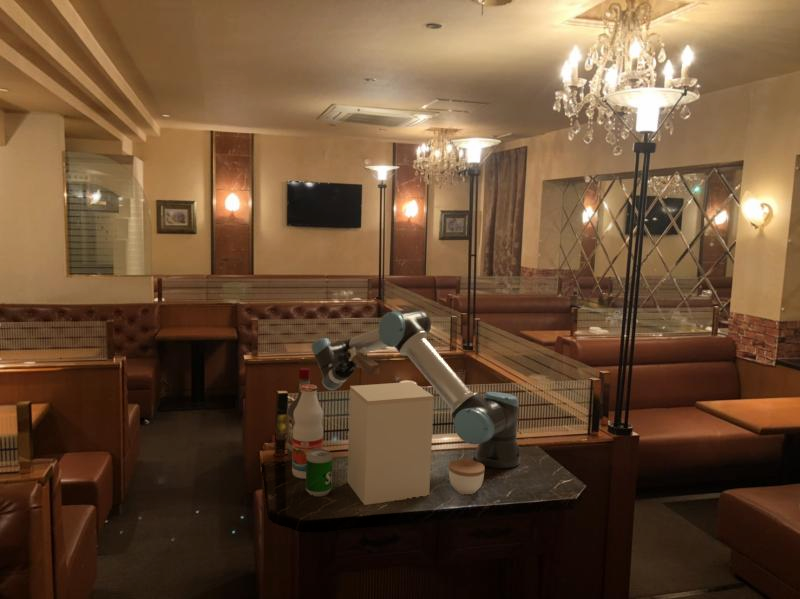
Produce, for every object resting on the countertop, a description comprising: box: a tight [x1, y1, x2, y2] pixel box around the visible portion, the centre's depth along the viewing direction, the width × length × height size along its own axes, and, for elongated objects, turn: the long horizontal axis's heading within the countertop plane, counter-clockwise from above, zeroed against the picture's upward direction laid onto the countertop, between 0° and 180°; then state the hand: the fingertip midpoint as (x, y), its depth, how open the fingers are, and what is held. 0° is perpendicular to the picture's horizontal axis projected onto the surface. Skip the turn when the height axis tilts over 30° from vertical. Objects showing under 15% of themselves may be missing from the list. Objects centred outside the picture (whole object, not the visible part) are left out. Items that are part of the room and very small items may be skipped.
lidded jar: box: [448, 458, 486, 495], centre depth 185 cm, size 11×11×9 cm
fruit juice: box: [291, 383, 324, 480], centre depth 192 cm, size 9×9×28 cm
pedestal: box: [346, 381, 435, 506], centre depth 182 cm, size 20×16×30 cm
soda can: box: [305, 448, 334, 497], centre depth 180 cm, size 8×8×12 cm
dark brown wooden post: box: [348, 349, 381, 376], centre depth 204 cm, size 3×24×3 cm, turn 22°
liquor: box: [286, 367, 311, 460], centre depth 205 cm, size 9×9×30 cm
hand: (359, 351), depth 207 cm, fingers closed on dark brown wooden post, 3 cm apart
